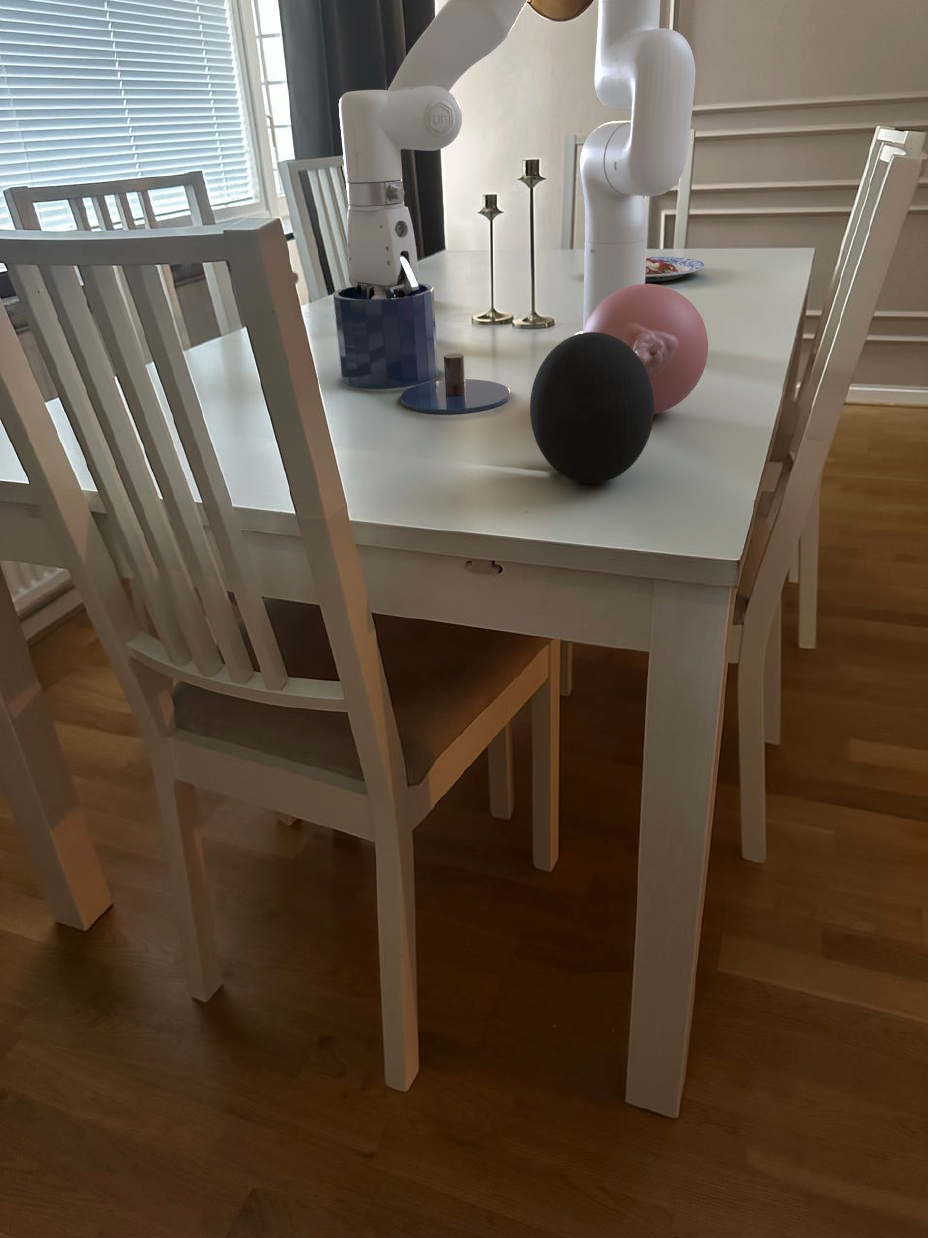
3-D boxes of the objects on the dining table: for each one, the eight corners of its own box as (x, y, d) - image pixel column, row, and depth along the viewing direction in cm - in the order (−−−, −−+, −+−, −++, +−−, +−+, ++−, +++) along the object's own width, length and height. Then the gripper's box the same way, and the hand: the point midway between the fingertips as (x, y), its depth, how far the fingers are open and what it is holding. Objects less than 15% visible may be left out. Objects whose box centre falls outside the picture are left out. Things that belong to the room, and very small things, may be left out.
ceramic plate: (567, 273, 212) (567, 259, 210) (668, 262, 218) (669, 249, 216) (616, 290, 190) (617, 275, 188) (727, 278, 196) (729, 263, 195)
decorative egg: (635, 507, 90) (643, 351, 82) (514, 495, 94) (512, 344, 87) (660, 465, 100) (669, 322, 92) (550, 455, 104) (550, 317, 96)
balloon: (564, 442, 108) (565, 305, 100) (586, 394, 124) (588, 274, 117) (700, 446, 104) (712, 305, 97) (704, 397, 121) (714, 273, 113)
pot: (453, 370, 139) (449, 283, 133) (410, 395, 128) (403, 301, 122) (372, 364, 144) (365, 280, 138) (324, 388, 133) (313, 297, 127)
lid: (526, 392, 127) (526, 346, 124) (483, 423, 115) (481, 373, 112) (431, 384, 133) (429, 340, 130) (381, 413, 121) (377, 365, 118)
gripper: (438, 194, 121) (446, 338, 130) (358, 191, 131) (370, 324, 140) (395, 200, 116) (406, 348, 125) (315, 196, 127) (330, 333, 136)
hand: (387, 334), depth 133 cm, fingers closed on salt shaker, 3 cm apart
